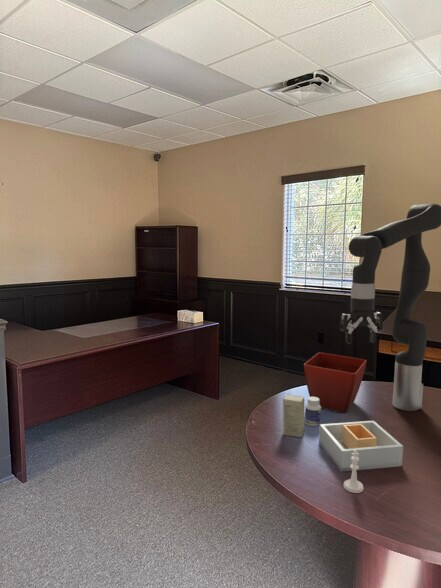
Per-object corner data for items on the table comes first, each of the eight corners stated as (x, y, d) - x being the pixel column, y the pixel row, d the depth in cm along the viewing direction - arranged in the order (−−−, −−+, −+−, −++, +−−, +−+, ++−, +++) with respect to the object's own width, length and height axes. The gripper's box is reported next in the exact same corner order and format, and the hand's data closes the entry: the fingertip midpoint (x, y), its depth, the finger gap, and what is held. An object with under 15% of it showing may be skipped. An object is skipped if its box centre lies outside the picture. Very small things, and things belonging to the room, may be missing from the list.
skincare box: (304, 432, 135) (305, 397, 133) (301, 438, 131) (302, 402, 130) (285, 428, 138) (286, 393, 136) (281, 434, 134) (282, 398, 132)
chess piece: (340, 481, 108) (342, 446, 107) (358, 481, 109) (360, 445, 107) (347, 493, 104) (349, 456, 102) (366, 492, 104) (368, 455, 103)
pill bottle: (320, 427, 139) (321, 402, 138) (304, 425, 140) (305, 401, 139) (320, 420, 144) (321, 396, 143) (304, 419, 145) (305, 395, 144)
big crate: (372, 438, 131) (373, 420, 131) (401, 466, 116) (403, 446, 115) (318, 442, 129) (319, 424, 128) (341, 471, 113) (342, 451, 112)
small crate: (360, 442, 127) (361, 423, 126) (375, 457, 118) (376, 438, 117) (342, 443, 126) (343, 425, 125) (356, 459, 117) (357, 439, 116)
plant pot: (365, 400, 161) (367, 359, 158) (353, 419, 145) (355, 373, 142) (317, 391, 171) (318, 351, 168) (301, 407, 154) (302, 364, 152)
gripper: (376, 293, 142) (374, 339, 145) (337, 295, 140) (336, 341, 143) (388, 297, 135) (386, 345, 137) (347, 298, 133) (346, 347, 135)
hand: (360, 343), depth 140 cm, fingers open, 8 cm apart
